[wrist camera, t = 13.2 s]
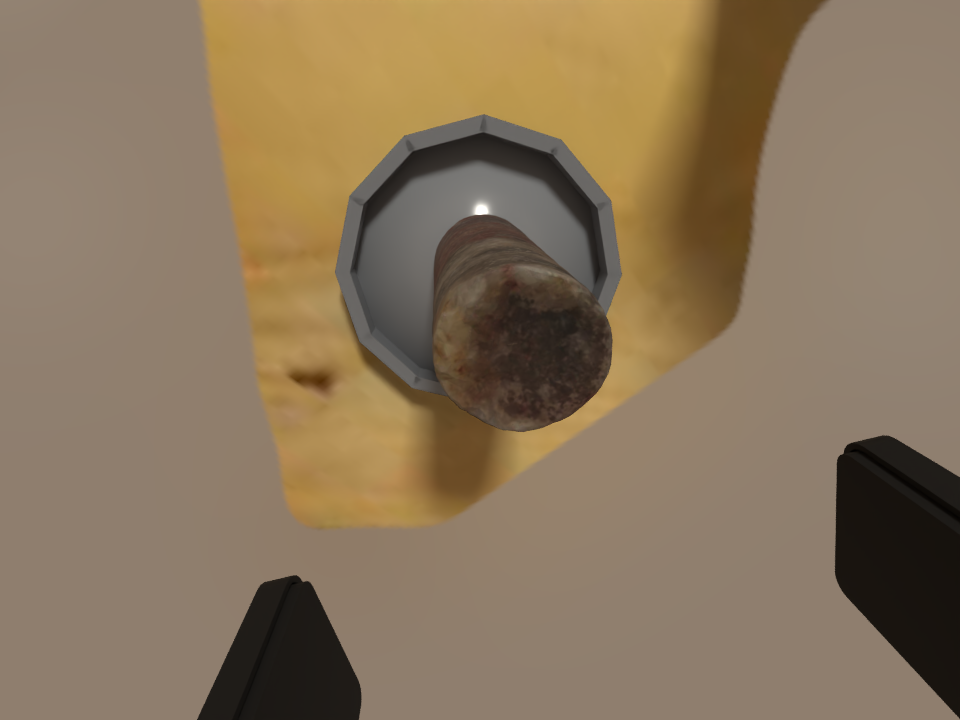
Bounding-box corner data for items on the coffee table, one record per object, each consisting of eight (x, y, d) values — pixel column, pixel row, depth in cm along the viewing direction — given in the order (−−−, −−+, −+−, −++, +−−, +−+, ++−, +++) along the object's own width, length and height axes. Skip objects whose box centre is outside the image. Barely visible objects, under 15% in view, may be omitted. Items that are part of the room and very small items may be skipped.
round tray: (582, 91, 35) (594, 84, 32) (622, 352, 42) (634, 364, 39) (308, 165, 36) (296, 164, 33) (393, 409, 43) (389, 425, 40)
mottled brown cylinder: (548, 288, 39) (641, 394, 20) (463, 329, 39) (477, 470, 21) (506, 195, 36) (567, 217, 17) (416, 242, 37) (383, 311, 18)
